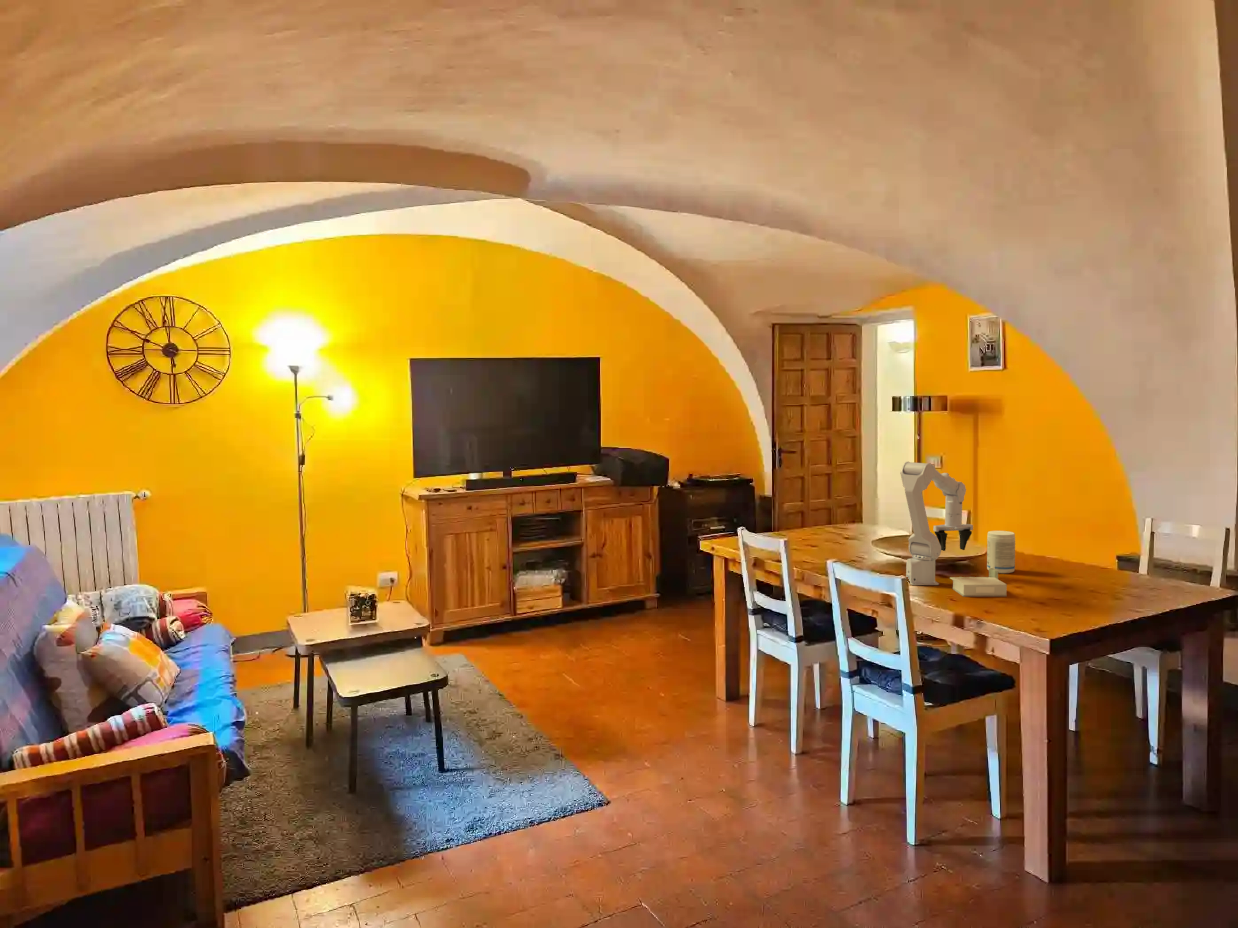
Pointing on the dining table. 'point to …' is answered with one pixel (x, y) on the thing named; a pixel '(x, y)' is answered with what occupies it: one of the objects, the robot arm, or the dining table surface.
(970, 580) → the block
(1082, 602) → the dining table surface
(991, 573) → the lid
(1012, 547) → the supplement tub
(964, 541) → the robot arm
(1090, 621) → the dining table surface
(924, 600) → the dining table surface
